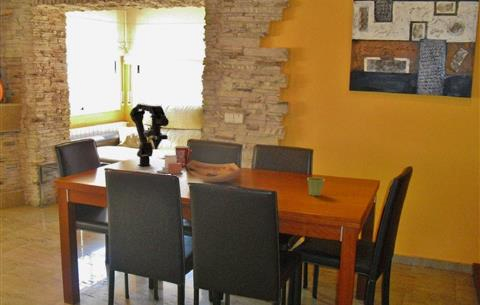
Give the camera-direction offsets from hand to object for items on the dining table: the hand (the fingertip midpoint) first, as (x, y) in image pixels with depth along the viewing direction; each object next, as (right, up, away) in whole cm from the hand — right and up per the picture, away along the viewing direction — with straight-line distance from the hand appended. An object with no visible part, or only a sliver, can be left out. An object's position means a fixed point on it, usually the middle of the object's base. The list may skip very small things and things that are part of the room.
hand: (156, 149), depth 317 cm
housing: (+11, -15, -10) cm, 21 cm away
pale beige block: (+11, -14, -11) cm, 21 cm away
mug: (+16, -12, +14) cm, 24 cm away
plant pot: (+95, -25, -54) cm, 112 cm away
